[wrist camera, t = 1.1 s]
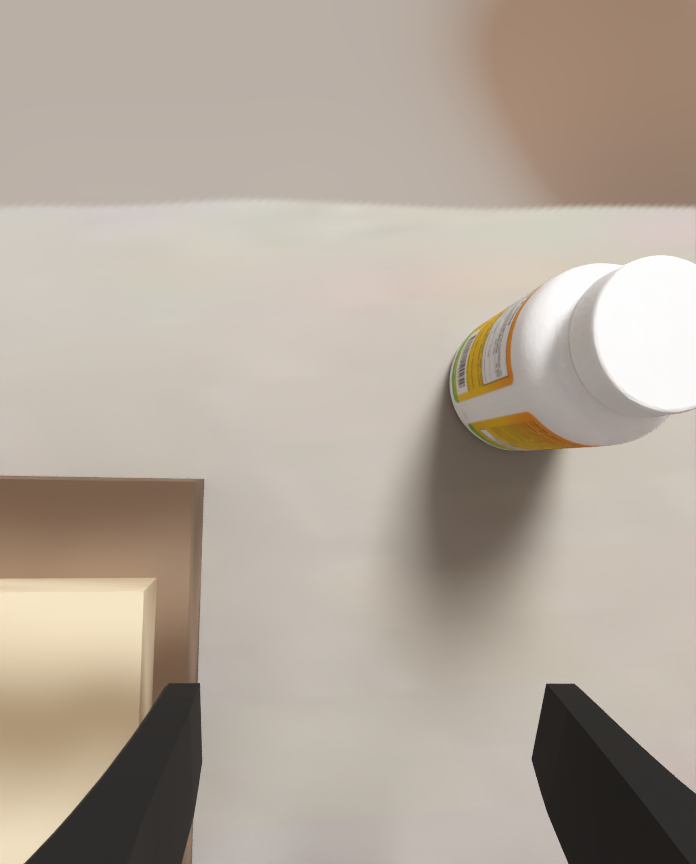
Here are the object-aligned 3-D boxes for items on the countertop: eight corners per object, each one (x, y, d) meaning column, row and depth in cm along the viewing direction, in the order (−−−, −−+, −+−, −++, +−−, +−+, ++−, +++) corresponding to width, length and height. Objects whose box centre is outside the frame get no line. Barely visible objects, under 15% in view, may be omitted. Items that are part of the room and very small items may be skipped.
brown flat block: (191, 868, 22) (177, 944, 18) (-111, 888, 21) (-188, 974, 17) (204, 479, 23) (192, 481, 19) (-87, 474, 21) (-155, 476, 18)
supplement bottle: (595, 414, 25) (803, 382, 15) (484, 475, 24) (629, 482, 15) (536, 296, 25) (707, 191, 15) (423, 354, 24) (527, 280, 14)
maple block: (146, 844, 18) (132, 889, 16) (-67, 856, 18) (-109, 906, 16) (156, 578, 19) (143, 591, 17) (-51, 579, 18) (-90, 593, 16)
